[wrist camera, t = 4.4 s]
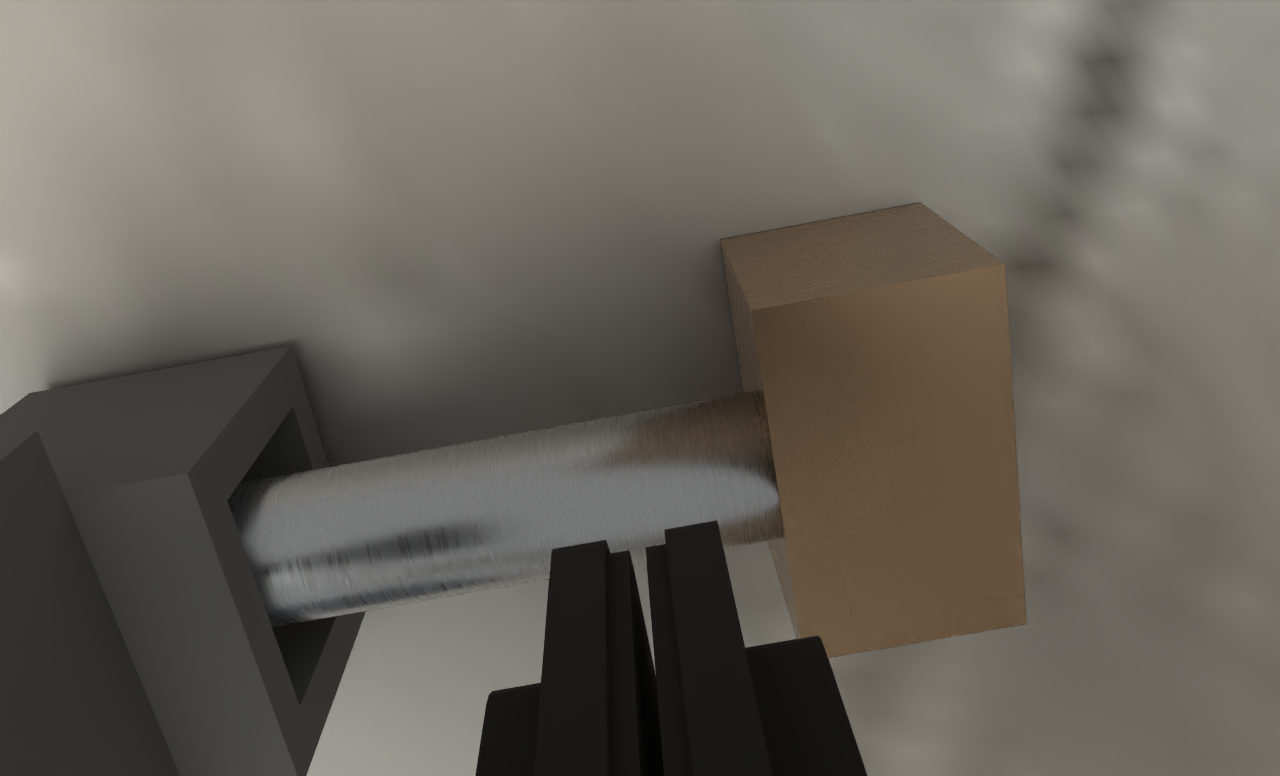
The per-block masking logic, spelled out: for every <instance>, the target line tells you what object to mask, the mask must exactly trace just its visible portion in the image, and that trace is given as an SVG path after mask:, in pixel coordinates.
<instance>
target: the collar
mask: <svg viewBox="0 0 1280 776" xmlns="http://www.w3.org/2000/svg"><path fill="white" fill-rule="evenodd" d="M327 467H329V463H328V460H327V457H326V454H325V451H324V447H323V444H322V441H321V438H320V435H319V431H318V428H317V425H316V422H315V418H314V415H313V412H312V409H311V406H310V402H309V399H308V396H307V393H306V390H305V386H304V383H303V380H302V377H301V373H300V370H299V367H298V364H297V361H296V357H295V354H294V351H293V348H292V345H290V346H285V347H280V348H274V349H269V350H263V351H258V352H252V353H247V354H241V355H236V356H230V357H225V358H219V359H214V360H208V361H203V362H198V363H192V364H187V365H181V366H176V367H170V368H165V369H159V370H154V371H148V372H143V373H137V374H132V375H127V376H121V377H116V378H110V379H105V380H99V381H94V382H88V383H83V384H77V385H72V386H66V387H61V388H55V389H50V390H45V391H39V392H34V393H29V394H28V395H27V396H25V397H24V398H23V399H21V400H20V401H19V402H17V403H16V404H15V405H13V406H12V407H11V408H9V409H8V410H7V411H5V412H4V413H3V414H1V415H0V776H306V775H307V772H308V769H309V766H310V764H311V761H312V758H313V755H314V752H315V750H316V747H317V744H318V741H319V739H320V736H321V733H322V730H323V728H324V725H325V722H326V719H327V717H328V714H329V711H330V708H331V706H332V703H333V700H334V697H335V695H336V692H337V689H338V686H339V683H340V681H341V678H342V675H343V672H344V670H345V667H346V664H347V661H348V659H349V656H350V653H351V650H352V648H353V645H354V642H355V639H356V637H357V634H358V631H359V628H360V625H361V623H362V620H363V617H364V614H365V612H366V611H363V612H357V613H351V614H346V615H340V616H334V617H329V618H323V619H317V620H311V621H306V622H300V623H294V624H289V625H283V626H277V627H272V626H271V623H270V620H269V618H268V615H267V612H266V609H265V606H264V603H263V601H262V598H261V595H260V592H259V589H258V586H257V584H256V581H255V578H254V575H253V572H252V569H251V567H250V564H249V561H248V558H247V555H246V552H245V550H244V547H243V544H242V541H241V538H240V535H239V533H238V530H237V527H236V524H235V521H234V518H233V516H232V513H231V510H230V507H229V504H228V501H227V500H228V499H229V497H230V496H231V494H232V493H233V492H234V490H235V489H236V487H237V486H238V484H239V483H243V482H249V481H254V480H260V479H265V478H271V477H277V476H282V475H288V474H293V473H299V472H305V471H310V470H316V469H321V468H327Z"/></svg>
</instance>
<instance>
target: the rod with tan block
mask: <svg viewBox="0 0 1280 776" xmlns="http://www.w3.org/2000/svg"><path fill="white" fill-rule="evenodd" d="M720 244H721V250H722V256H723V263H724V269H725V276H726V282H727V289H728V295H729V302H730V308H731V314H732V321H733V327H734V334H735V340H736V347H737V353H738V359H739V366H740V372H741V379H742V385H743V392H744V393H740V394H734V395H728V396H723V397H717V398H712V399H706V400H701V401H695V402H689V403H684V404H678V405H673V406H667V407H661V408H656V409H650V410H645V411H639V412H634V413H628V414H622V415H617V416H611V417H606V418H600V419H595V420H589V421H583V422H578V423H572V424H567V425H561V426H555V427H550V428H544V429H539V430H533V431H528V432H522V433H516V434H511V435H505V436H500V437H494V438H489V439H483V440H477V441H472V442H466V443H461V444H455V445H450V446H444V447H438V448H433V449H427V450H422V451H416V452H410V453H405V454H399V455H394V456H388V457H383V458H377V459H371V460H366V461H360V462H355V463H349V464H344V465H338V466H332V467H327V468H321V469H316V470H310V471H305V472H299V473H293V474H288V475H282V476H277V477H271V478H265V479H260V480H254V481H249V482H243V483H239V484H238V486H237V487H236V489H235V490H234V492H233V493H232V494H231V496H230V497H229V499H228V500H227V501H228V504H229V507H230V510H231V513H232V516H233V518H234V521H235V524H236V527H237V530H238V533H239V535H240V538H241V541H242V544H243V547H244V550H245V552H246V555H247V558H248V561H249V564H250V567H251V569H252V572H253V575H254V578H255V581H256V584H257V586H258V589H259V592H260V595H261V598H262V601H263V603H264V606H265V609H266V612H267V615H268V618H269V620H270V623H271V626H272V627H277V626H283V625H289V624H294V623H300V622H306V621H311V620H317V619H323V618H329V617H334V616H340V615H346V614H351V613H357V612H363V611H369V610H374V609H380V608H386V607H391V606H397V605H403V604H409V603H414V602H420V601H426V600H431V599H437V598H443V597H449V596H454V595H460V594H466V593H471V592H477V591H483V590H489V589H494V588H500V587H506V586H511V585H517V584H523V583H529V582H534V581H540V580H546V579H549V577H550V564H551V553H552V549H556V548H561V547H567V546H573V545H579V544H584V543H590V542H596V541H602V540H606V541H607V543H608V547H609V550H610V553H616V552H621V551H627V550H629V552H630V555H631V558H632V563H633V564H637V563H643V562H647V560H646V547H650V546H656V545H662V544H666V541H665V532H664V530H665V529H670V528H676V527H682V526H687V525H693V524H699V523H705V522H710V521H716V520H717V522H718V526H719V531H720V535H721V540H722V545H723V548H729V547H734V546H740V545H746V544H751V543H757V542H763V541H768V543H769V547H770V550H771V553H772V557H773V560H774V564H775V567H776V570H777V574H778V577H779V580H780V584H781V587H782V591H783V594H784V597H785V601H786V604H787V607H788V611H789V614H790V618H791V621H792V624H793V628H794V631H795V634H796V638H797V639H801V638H806V637H812V636H819V637H820V638H821V640H822V642H823V645H824V648H825V651H826V654H827V657H828V658H831V657H837V656H843V655H848V654H854V653H860V652H866V651H872V650H878V649H883V648H889V647H895V646H901V645H907V644H913V643H918V642H924V641H930V640H936V639H942V638H947V637H953V636H959V635H965V634H971V633H977V632H982V631H988V630H994V629H1000V628H1006V627H1012V626H1017V625H1023V624H1026V608H1025V591H1024V574H1023V557H1022V540H1021V523H1020V506H1019V490H1018V473H1017V456H1016V439H1015V422H1014V405H1013V389H1012V372H1011V355H1010V338H1009V321H1008V304H1007V287H1006V271H1005V264H1004V263H1003V262H1001V261H1000V260H999V259H997V258H996V257H994V256H993V255H992V254H990V253H989V252H988V251H986V250H985V249H983V248H982V247H981V246H979V245H978V244H977V243H975V242H974V241H972V240H971V239H970V238H968V237H967V236H966V235H964V234H963V233H961V232H960V231H959V230H957V229H956V228H954V227H953V226H952V225H950V224H949V223H948V222H946V221H945V220H943V219H942V218H941V217H939V216H938V215H937V214H935V213H934V212H932V211H931V210H930V209H928V208H927V207H926V206H924V205H923V204H921V203H917V204H911V205H906V206H900V207H895V208H890V209H884V210H879V211H873V212H868V213H862V214H857V215H851V216H846V217H841V218H835V219H830V220H824V221H819V222H813V223H808V224H802V225H797V226H792V227H786V228H781V229H775V230H770V231H764V232H759V233H753V234H748V235H743V236H737V237H732V238H726V239H721V240H720Z"/></svg>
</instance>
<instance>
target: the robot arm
mask: <svg viewBox="0 0 1280 776" xmlns="http://www.w3.org/2000/svg"><path fill="white" fill-rule="evenodd" d="M664 532H665V541H666V544H662V545H656V546H650V547H646V560H647V572H648V584H649V596H650V608H651V620H652V632H653V644H654V656H655V668H656V675H655V670H654V665H653V660H652V655H651V650H650V645H649V641H648V636H647V631H646V626H645V621H644V616H643V611H642V607H641V602H640V597H639V592H638V587H637V582H636V577H635V573H634V568H633V563H632V558H631V555H630V552H629V550H627V551H621V552H616V553H610V550H609V547H608V543H607V541H606V540H602V541H596V542H590V543H584V544H579V545H573V546H567V547H561V548H556V549H552V553H551V564H550V577H549V590H548V602H547V615H546V628H545V640H544V653H543V666H542V678H541V683H537V684H532V685H526V686H520V687H514V688H508V689H502V690H497V691H492V692H491V693H490V694H489V697H488V700H487V704H486V710H485V717H484V723H483V730H482V737H481V743H480V750H479V756H478V763H477V770H476V776H867V773H866V770H865V767H864V764H863V761H862V758H861V755H860V752H859V749H858V746H857V743H856V740H855V737H854V734H853V731H852V728H851V725H850V722H849V719H848V716H847V713H846V710H845V707H844V704H843V701H842V698H841V695H840V692H839V689H838V686H837V683H836V680H835V677H834V674H833V671H832V668H831V666H830V663H829V660H828V657H827V654H826V651H825V648H824V645H823V642H822V640H821V638H820V637H819V636H812V637H806V638H801V639H795V640H789V641H783V642H777V643H771V644H765V645H760V646H754V647H748V648H745V646H744V641H743V637H742V632H741V628H740V623H739V618H738V614H737V609H736V605H735V600H734V595H733V591H732V586H731V581H730V577H729V572H728V568H727V563H726V558H725V554H724V549H723V545H722V540H721V535H720V531H719V526H718V522H717V520H716V521H710V522H705V523H699V524H693V525H687V526H682V527H676V528H670V529H665V530H664Z"/></svg>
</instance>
